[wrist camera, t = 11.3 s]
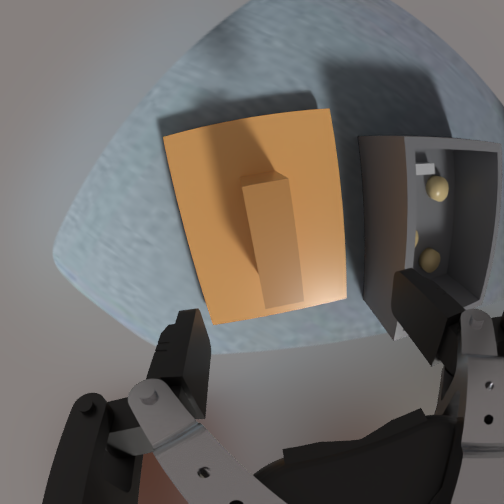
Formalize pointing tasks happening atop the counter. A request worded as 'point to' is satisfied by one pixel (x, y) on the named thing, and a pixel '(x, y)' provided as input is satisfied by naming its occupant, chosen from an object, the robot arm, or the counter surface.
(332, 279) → the lid
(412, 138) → the tub
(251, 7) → the counter surface
